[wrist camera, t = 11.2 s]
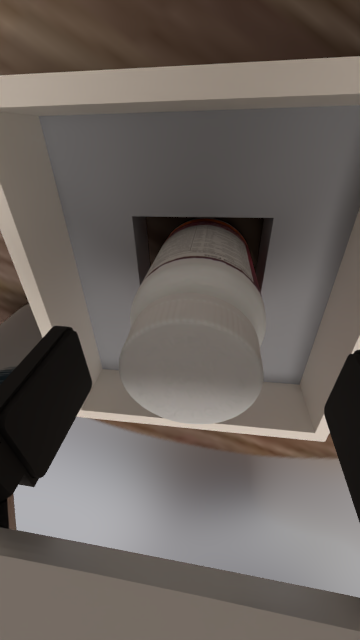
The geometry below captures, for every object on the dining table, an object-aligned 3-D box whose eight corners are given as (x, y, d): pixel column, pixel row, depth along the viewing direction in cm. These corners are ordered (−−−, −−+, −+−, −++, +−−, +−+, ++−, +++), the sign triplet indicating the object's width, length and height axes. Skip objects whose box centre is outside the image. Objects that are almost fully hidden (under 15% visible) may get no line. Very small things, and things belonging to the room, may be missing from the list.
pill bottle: (230, 308, 20) (239, 449, 11) (153, 286, 20) (97, 411, 11) (265, 230, 17) (320, 341, 8) (172, 202, 17) (113, 281, 7)
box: (386, 88, 13) (524, 47, 7) (298, 365, 23) (324, 441, 17) (50, 101, 15) (-60, 78, 9) (107, 351, 25) (73, 416, 19)
